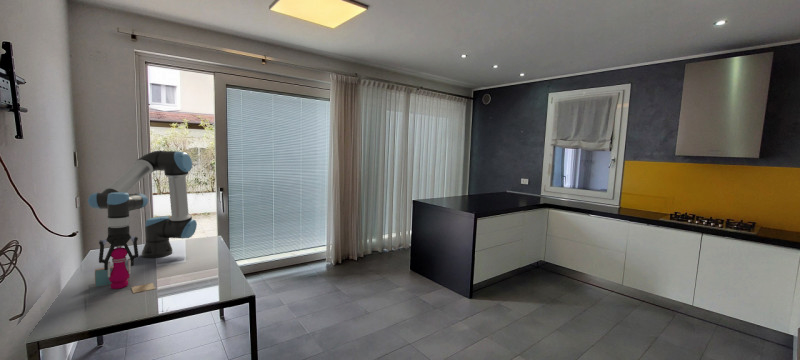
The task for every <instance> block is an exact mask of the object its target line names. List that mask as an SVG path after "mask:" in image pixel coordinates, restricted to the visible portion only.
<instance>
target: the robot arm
mask: <svg viewBox="0 0 800 360" xmlns="http://www.w3.org/2000/svg"><path fill="white" fill-rule="evenodd" d="M192 167H193V161H192V158H191V156H190V155H189V154H188V153H187V152H184V151H178V150H177V151H173V150H169V151H168V150H155V151H151V152H148V153H146V154H144V155H142V156H141V157H139V158H137V159H136V160H135V161H134V162H133V165H132V166H131V167H130V168H129V169H128V170H127V171H125V172H124V173H122V174H121V176H120V177H118V178H117V179H115V181H113V182H112V183H111V184H110V185H109V186H108V187H107V188H104V190H103V191H102V192H93V193H91V194H89V196H88V197H87V198H88V199H87V204H88V206H89V207H90V208H92V209H100V210H107V237H106V239H105V238H104V239H103V240H101V239H99V241H98V243H99V244H98V245H99V255H98V263H99V264H103V268H104V269H105V270H108V277H110V267H111V261H109V260H110V258H111V254H112V252H113V249H115V248H117V246H121V247H123V248H125V249H126V251H127V256H128V257H129V258H127V270H128V272H129V275H131V274H132V270H131V269H132V268H131V267H133V266H134V264H135V263H134V262H135V261H134V260H135V259H136V258H139V256H140V255H139V248H138V241H139V238H138V236H132V235H130V211H134V210H139V209H144V207H146V206H147V205H148V203H149V198H148V196H147V195H146V194H144V193H142V192H141V193H129V192H130V190H132V189H133V188H134V187H135V186H136V185H137V184H138V183H139V182H140V181H142V180H143V179H144V178H145V177H146V176H147V175H150V174H153V172H157V171H162V172H164V176H165V177H167V179H168V191H169V201H170V211H171V213H170V214H171V216H170V217H169V215H164V216H154V217H151V218H148V219H146V220H145V226H144V228H145V229H144V233H145V236H144V238H145V243H144V246H143V249H142V252H141V257H142V258H147V259H152V258H153V259H157V258H162V257H167V256H169V255H172V254H173V247H172V244H171V243H170V239H190V238H192V237H193V235H195V233H196V230H197V226H198V224H197V220H196V219H193V217H192V214H190V213H189V203H188V201H189V200H188V191H187V189H188V188H187V179H186V178H187V177H186V176H188V175H189V172H191V170H192ZM130 240H131V241H132V245H133V251H134V252H133V253H134V254H132V252H131V249H130V248H129V245H128V243H129V241H130ZM107 243H108V244H110V246H109V248H108V251H107V253H106V256H105V257H104V251H105V250H104V249H105V245H106V244H107Z"/></svg>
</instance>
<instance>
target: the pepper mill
mask: <svg viewBox="0 0 800 360" xmlns="http://www.w3.org/2000/svg"><path fill="white" fill-rule="evenodd" d="M126 256H128V253H127V251H126V249H125V247H124V246H117V247H114V249H113V252H112V254H111V256H110V258H111V262H112V263H113V265H112V266H113V270H112V272H111V274H110V277H109V281H110V282H112V283H111V288H112V289H119V288H124V287H126V286H128V281H127V280H129V279H130V274H129V272H128V268H127V267H126V261H127V257H126Z"/></svg>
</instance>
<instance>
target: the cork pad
mask: <svg viewBox="0 0 800 360" xmlns="http://www.w3.org/2000/svg"><path fill="white" fill-rule="evenodd" d="M131 288H132V289H131V292H132V294H138V293H143V292H147V291H148V292H149V291H151V290H156V287H155V285H154V282H151V283H146V284H142V285H141V284H140V285H134V286H131Z"/></svg>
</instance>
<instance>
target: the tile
mask: <svg viewBox="0 0 800 360" xmlns="http://www.w3.org/2000/svg"><path fill="white" fill-rule="evenodd" d="M112 270H113V265H112V266H110V274H111V272H112ZM111 283H112V282H110V281H109V277H108V270H105V269H104V267H101V268H95V269H94V284H95V287H99V286H105V285H110V284H111Z"/></svg>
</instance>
